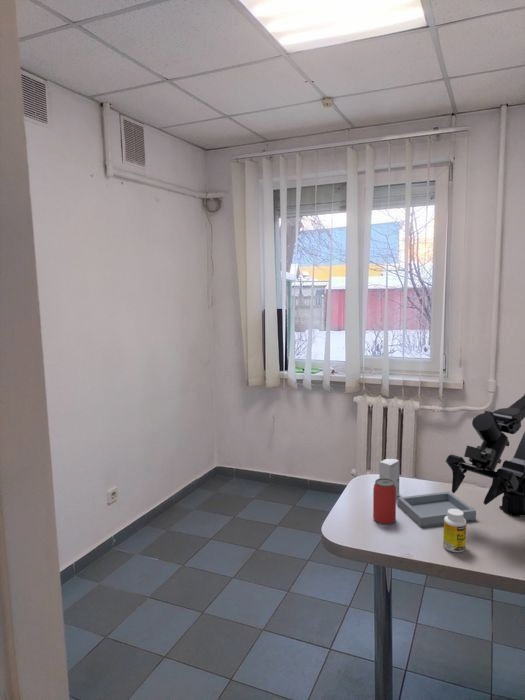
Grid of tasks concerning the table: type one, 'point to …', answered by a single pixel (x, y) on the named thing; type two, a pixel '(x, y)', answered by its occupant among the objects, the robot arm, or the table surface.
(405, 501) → the sorting tray
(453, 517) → the supplement bottle
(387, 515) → the beer can
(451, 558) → the table surface
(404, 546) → the table surface
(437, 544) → the table surface
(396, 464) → the skincare box
